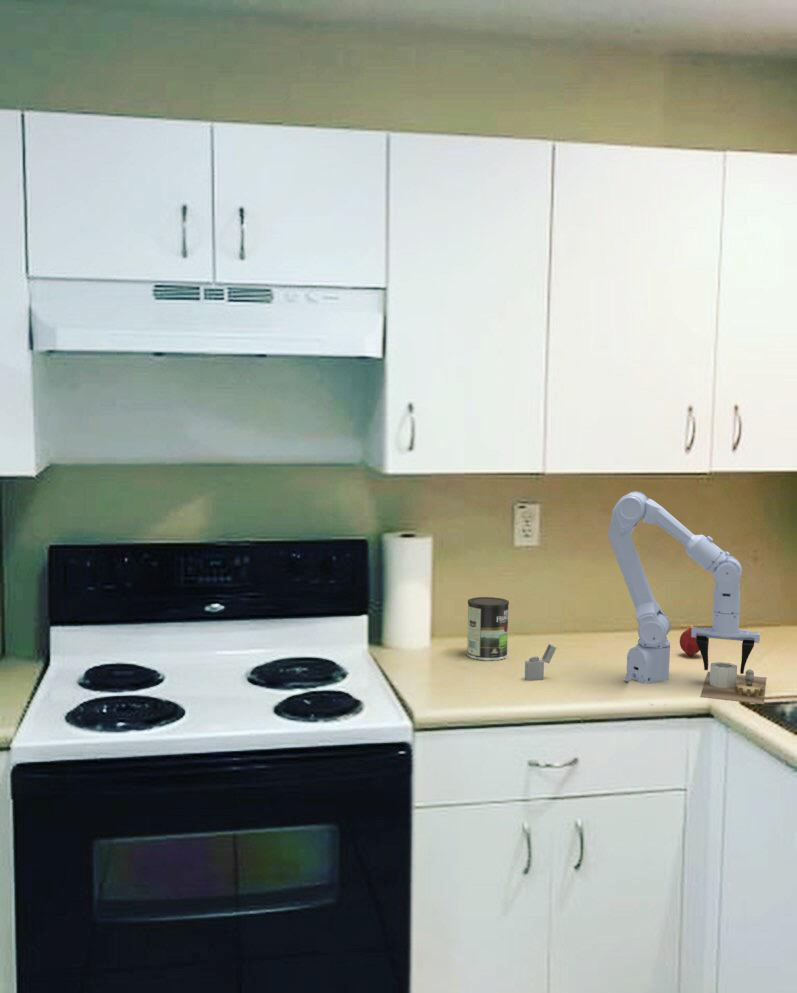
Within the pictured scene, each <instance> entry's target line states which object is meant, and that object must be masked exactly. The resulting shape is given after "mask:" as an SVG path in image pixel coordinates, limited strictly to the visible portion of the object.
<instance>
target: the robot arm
mask: <svg viewBox="0 0 797 993" xmlns="http://www.w3.org/2000/svg"><path fill="white" fill-rule="evenodd" d="M610 519H611V520H610V524H609V527H608V528H609V529H608V533H607V536H608V540H609V542H610V545H611V548H612V550H613V553H614V556H615V557H616V561H617V563H618V566H619V569H620V571H621V574H622V576H623V580H624V582H625V585H626V586H627V589H628V592H629V596H630V597H631V600H632V604H633V606H634V610H635V616H636V621H637V623H638V628H637V630H638V631H637V634H638V635H637V636H638V640H637V644H636V645H635V646H634V647H631V648H630V649H629V650H628V652H627V655H626V673H625V675H626V676H625V677H624V678H623V681H625V682H627V683H630V681H631V680H633V681H637V682H639V683H642V684H650V683H656V682H657V683H658V682H666V681H669V678H670V658H671V657H670V655H671V654H670V653H671V642H670V641H669V639H668V634H669V632H670V631H671V629H672V628H671V627H672V624H671V620H670V618H669V617H668V616H667V615H666V614H665V612H663V611H662V609H661V606H660V604H659V603H658V601H657V600H656V598H655V595H654V593H653V590H652V587H651V585H650V582H649V580H648V576H647V575H646V572H645V569H644V567H643V564H642V561H641V558H640V556H639V553H638V551H637V548H636V546H635V543H634V540H633V538H632V534H633V533H634V531H635V529H636V527H637V526H638V523H639V522H640V521H641V520H642V519H643V520H642V523H643V524H652V525H657V526H658V527H659V528H661V530H664V531H665V532H666V533H667V534H668V535H670V536H672V537H673V538H674V539H675V540H677V541H678V542H680V543H681V545H684V547H685V554H686V555H687V556H688V557H689V558H690V559H691V560H693V561H695V563H697V565H699V566H700V567H701V568H703V569H704V570H705V571H706V572H708V573H712V576H713V579H714V584H715V586H714V590H713V600H712V601H713V603H712V605H713V607H712V627H692V635H691V637H695V638H696V637H697V638H696V643H697V645H698V647H699V650H700V651H699V652H700V655H701V658H702V662H703V671H708V670H709V643H710V640H709V639H714V640H715V639H716V640H728V641H730V640H731V641H739V642H742V643H741V663H740V671H739V675H745V674H744V673H745V667H746V665H747V664H746V663H747V661H748V659H749V656H750V655H751V652H752V650H753V649H754V647H755V644H760V642H761V641H760V640H761V633H760V632H757V631H756V632H754V631H748V630H744V629H743V630H742V629H740V618H741V617H740V614H741V595H742V594H741V591H740V590H741V578H742V572H743V568H742V565H741V563H740V562H739V560H738V559H737V557H735V556H732V555H731V553H730V552H728V550H727V551H724V550H723V549H721V548H720V546H718V545H717V544H715V543H714V542H713V541H714V539H713V538H712V537H711V536H710V535H708V536H707V537H706V536H705V535H704V534H694V533H693V532H692V531H691V530H689V529H688V528H687V527H686V525H683V523H681V522H680V521H679V520H677V519H676V517H674V516H673V515H672V514H671V513H670V512H668V511H667V509H665V508H664V507H663V506H661V505H660V504H659V503H657V502H656V501H655V500H653V499H651V498H648V497H647V496H646V494H644V493H643V492H641V491H636V490H635V491H631V492H628V493H626V495H624V496H621V498H619V500H617V502H616V504H615V506H614V507H613V508H612V514H611V518H610Z"/></svg>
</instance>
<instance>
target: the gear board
mask: <svg viewBox="0 0 797 993" xmlns="http://www.w3.org/2000/svg"><path fill="white" fill-rule="evenodd" d="M766 687H767V677H764V676H756V675H755V672H754V670H752V669H750V668H749V669H747V670H746V671H745V674H737V680H736V683H735V685H734V688H720V687H715V686H712V685H710V671H707V673H706V676H705V680H704V684H703V687H702V689H701V693H700V696H699V697H700V698H704V699H712V700H713V699H714V700H724V701H730V702H740V703H749V704H758V705H765V699H766V698H765V697H766Z"/></svg>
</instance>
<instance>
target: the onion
mask: <svg viewBox="0 0 797 993" xmlns="http://www.w3.org/2000/svg"><path fill="white" fill-rule="evenodd" d="M692 627H695V626H694V625H693V624H691V625H690V626H689V627H688V629H686V630H684V631H683V632H682V633H681V635H680V637H679V646H680V649H681V650H682V651H683V652H684V653H685V654H686V655H687V656H688V657H693V656H694V655H697V654H698V652H700V650H699V647H698V645H697V643H696V638H697V637H696V638H695V637H691V635H692Z"/></svg>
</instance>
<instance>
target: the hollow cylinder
mask: <svg viewBox="0 0 797 993" xmlns="http://www.w3.org/2000/svg"><path fill="white" fill-rule="evenodd" d="M709 669H710V670H709V672H710V685H712V686H715V687H720V688H734V685H735V683H736V680H737V675H738V665H737V664H734V663H731V662H724V661H716V662H710V667H709Z"/></svg>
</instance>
